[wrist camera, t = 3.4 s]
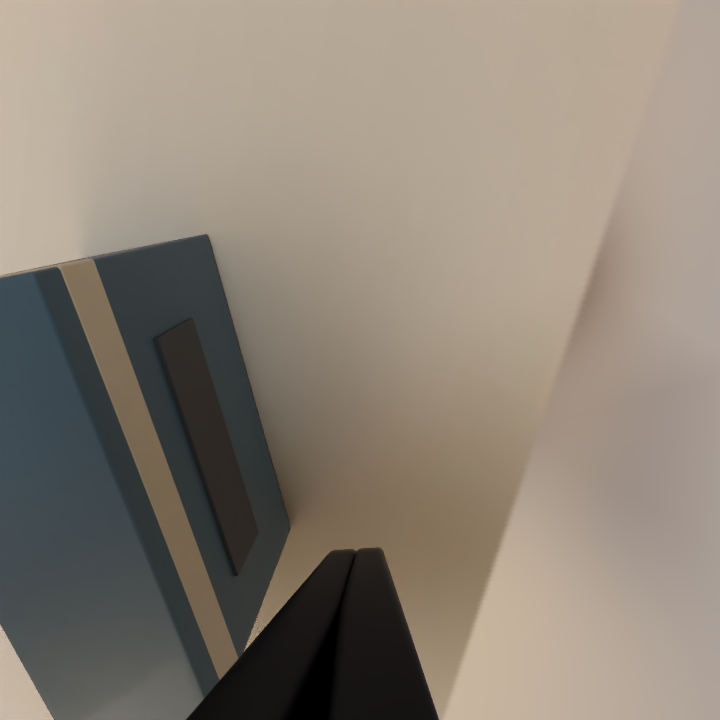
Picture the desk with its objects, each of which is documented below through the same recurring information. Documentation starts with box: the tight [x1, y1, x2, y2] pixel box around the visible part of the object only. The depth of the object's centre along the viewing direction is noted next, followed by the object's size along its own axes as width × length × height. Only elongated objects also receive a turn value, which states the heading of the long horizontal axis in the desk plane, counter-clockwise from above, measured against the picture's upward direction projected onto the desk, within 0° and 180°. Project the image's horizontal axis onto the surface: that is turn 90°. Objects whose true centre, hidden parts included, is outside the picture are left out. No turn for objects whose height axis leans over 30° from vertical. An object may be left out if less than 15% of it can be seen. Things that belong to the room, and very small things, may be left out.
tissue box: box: [0, 234, 290, 720], centre depth 13 cm, size 11×5×7 cm, turn 11°
